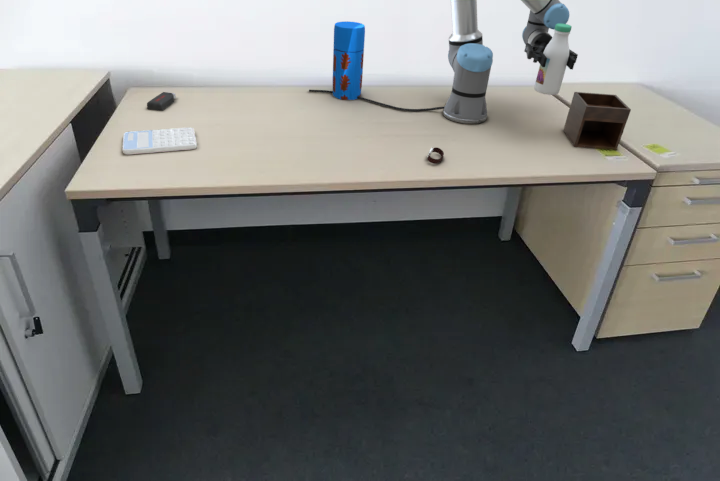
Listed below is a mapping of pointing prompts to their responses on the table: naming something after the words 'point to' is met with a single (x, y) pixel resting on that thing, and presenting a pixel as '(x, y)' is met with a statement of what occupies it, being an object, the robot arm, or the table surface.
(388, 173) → the table surface
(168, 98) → the usb drive
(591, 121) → the shelf unit
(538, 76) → the milk bottle
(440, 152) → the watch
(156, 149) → the calculator
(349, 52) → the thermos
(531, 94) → the table surface
